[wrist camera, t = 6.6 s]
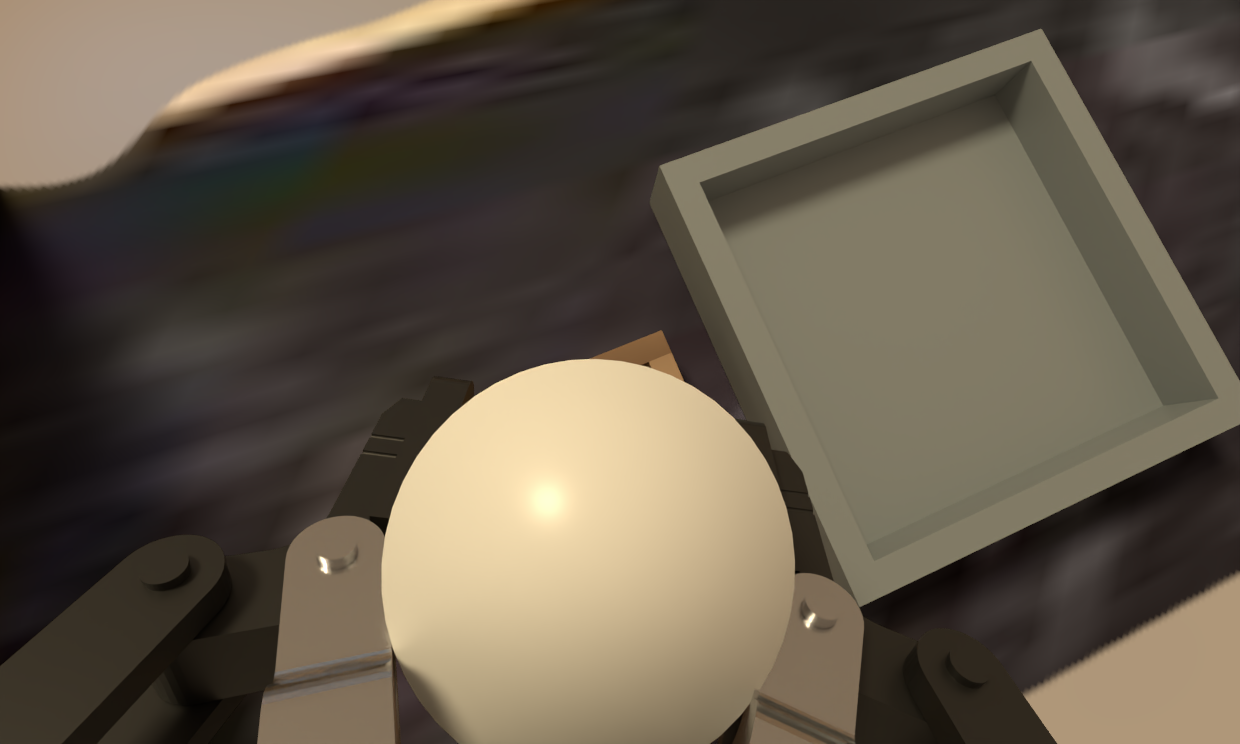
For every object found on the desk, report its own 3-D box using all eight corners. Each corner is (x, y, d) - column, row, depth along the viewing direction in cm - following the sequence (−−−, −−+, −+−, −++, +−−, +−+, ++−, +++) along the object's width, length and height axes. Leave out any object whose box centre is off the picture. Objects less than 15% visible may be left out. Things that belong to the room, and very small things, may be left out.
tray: (649, 202, 24) (659, 165, 21) (991, 77, 26) (1041, 28, 23) (823, 591, 22) (859, 607, 19) (1179, 423, 24) (1258, 414, 21)
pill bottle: (450, 463, 17) (323, 447, 8) (628, 392, 17) (699, 303, 8) (520, 650, 16) (469, 867, 7) (701, 569, 17) (860, 675, 8)
